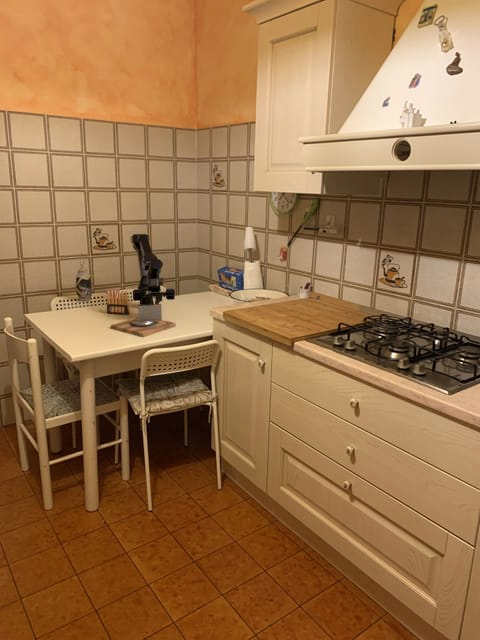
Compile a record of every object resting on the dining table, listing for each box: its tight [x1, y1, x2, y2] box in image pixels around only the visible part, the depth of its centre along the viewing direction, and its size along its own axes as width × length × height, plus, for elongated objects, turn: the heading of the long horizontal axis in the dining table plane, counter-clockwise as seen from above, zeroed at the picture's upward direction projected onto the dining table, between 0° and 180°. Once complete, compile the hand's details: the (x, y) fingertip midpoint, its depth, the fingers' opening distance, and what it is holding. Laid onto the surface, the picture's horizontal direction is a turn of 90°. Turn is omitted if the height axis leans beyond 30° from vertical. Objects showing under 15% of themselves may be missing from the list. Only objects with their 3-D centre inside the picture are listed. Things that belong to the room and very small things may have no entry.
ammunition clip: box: [106, 289, 130, 316], centre depth 237 cm, size 11×2×12 cm, turn 83°
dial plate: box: [110, 316, 177, 338], centre depth 218 cm, size 20×20×2 cm
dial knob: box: [132, 303, 163, 326], centre depth 217 cm, size 13×10×8 cm
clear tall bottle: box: [75, 253, 93, 302], centre depth 260 cm, size 9×8×25 cm
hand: (154, 310), depth 220 cm, fingers closed
